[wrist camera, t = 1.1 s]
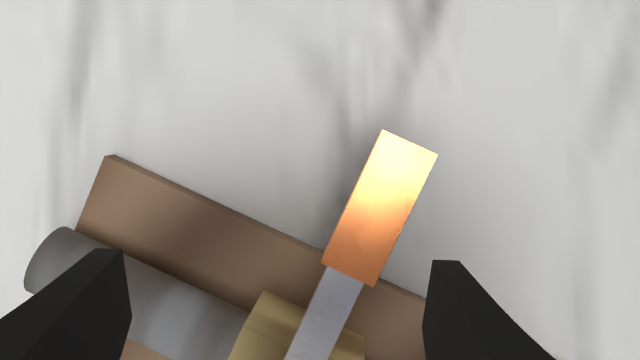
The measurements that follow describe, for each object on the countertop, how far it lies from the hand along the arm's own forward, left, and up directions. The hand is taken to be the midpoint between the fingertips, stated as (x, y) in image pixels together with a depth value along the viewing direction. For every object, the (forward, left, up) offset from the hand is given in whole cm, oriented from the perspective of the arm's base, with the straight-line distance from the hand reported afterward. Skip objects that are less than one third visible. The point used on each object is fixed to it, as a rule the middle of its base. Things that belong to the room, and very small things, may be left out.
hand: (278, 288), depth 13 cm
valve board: (-2, +7, -14) cm, 16 cm away
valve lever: (-2, +2, -8) cm, 8 cm away
